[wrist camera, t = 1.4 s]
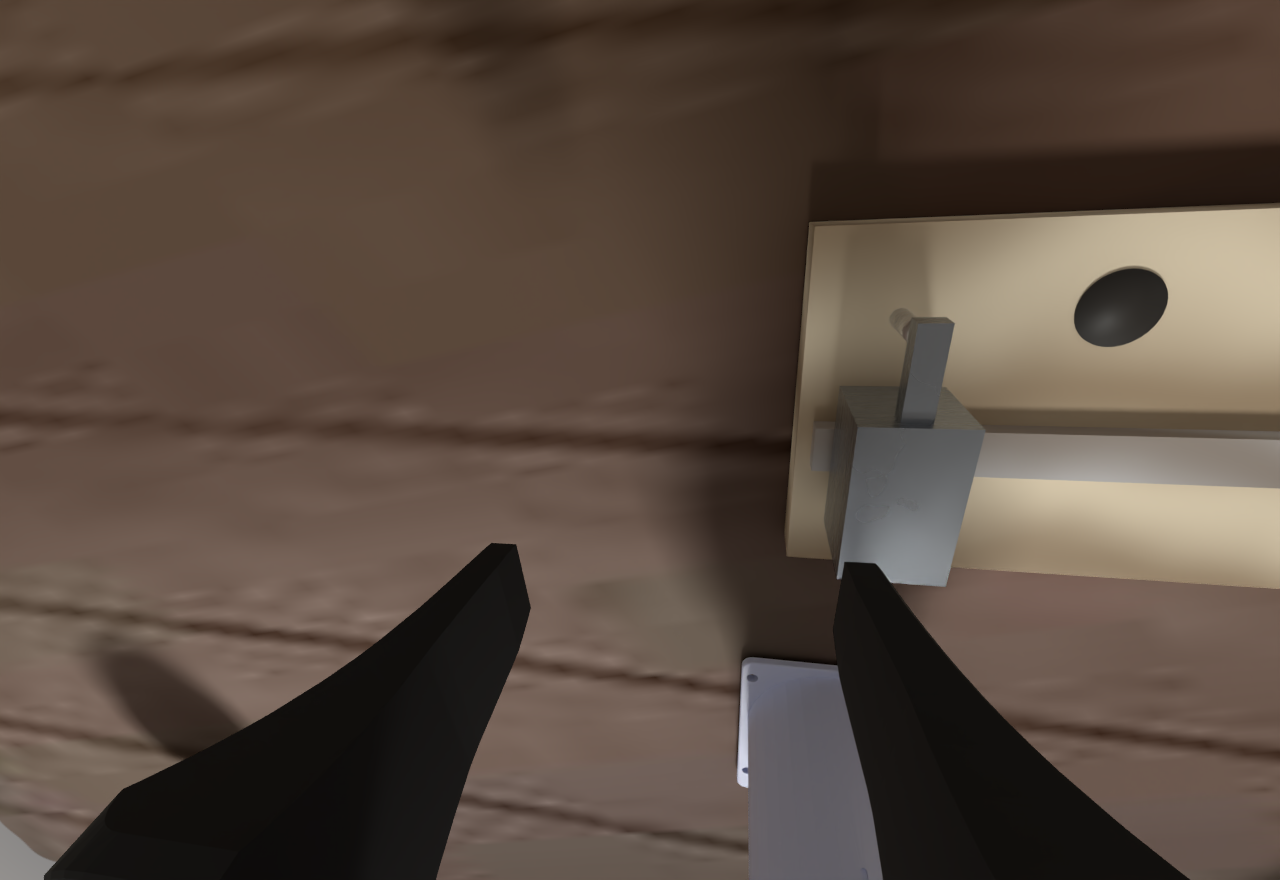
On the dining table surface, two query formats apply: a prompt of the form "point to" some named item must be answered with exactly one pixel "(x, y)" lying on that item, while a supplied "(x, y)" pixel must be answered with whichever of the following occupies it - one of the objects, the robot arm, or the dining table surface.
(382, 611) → the dining table surface
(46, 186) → the dining table surface
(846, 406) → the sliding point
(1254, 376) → the hole board
